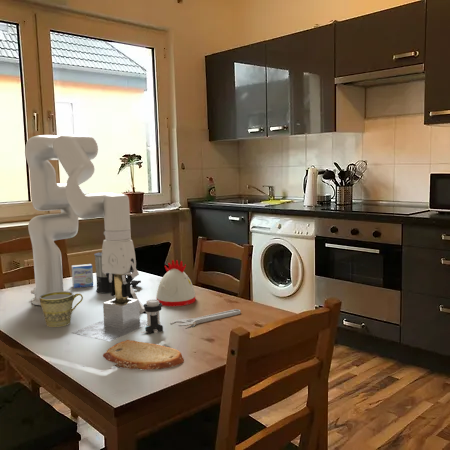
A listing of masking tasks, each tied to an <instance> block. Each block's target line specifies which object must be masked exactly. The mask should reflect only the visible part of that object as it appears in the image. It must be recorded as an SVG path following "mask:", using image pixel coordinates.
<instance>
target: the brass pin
mask: <svg viewBox="0 0 450 450" xmlns="http://www.w3.org/2000/svg"><path fill="white" fill-rule="evenodd" d="M122 284H123V279H122V275H119V274H115V275H114V285H115V295H114V299H115V303H116V304H124V303H127V297H122Z"/></svg>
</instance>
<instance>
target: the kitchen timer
mask: <svg viewBox="0 0 450 450" xmlns="http://www.w3.org/2000/svg"><path fill="white" fill-rule="evenodd" d="M183 264H184V263H183V260H180V263H179V260H178V259H176V260H174V259H172V260H171V262H167V265H168V267H167V265H164V269H165V271H166V273H165V274H164V275H163V276H162V277H161V280H160V281H159V284H158V288H157V290H156V291H157V292H156V299H155V300H158V301H159V303H162V307H163V306H164V307H181V306H187V305H190V304H194V303H195V302H196V292H195V288H194V286H193V283H192V280H191V279H190V277H189V276H188V274H186V272H185V270H186V266H187V264H186V263H185V264H184V265H183Z"/></svg>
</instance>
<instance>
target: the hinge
mask: <svg viewBox="0 0 450 450" xmlns="http://www.w3.org/2000/svg"><path fill="white" fill-rule="evenodd" d="M130 289H131V295H130V296H127V298H132V299H138V300H139V298H138V296H137V294H136V292H135V290H134V289H133V287H132V285H131V286H130ZM139 312H140V314H143V313H145V315H147V312H146V311H145V309H144V304H142V303H141V301H140V300H139Z"/></svg>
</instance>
